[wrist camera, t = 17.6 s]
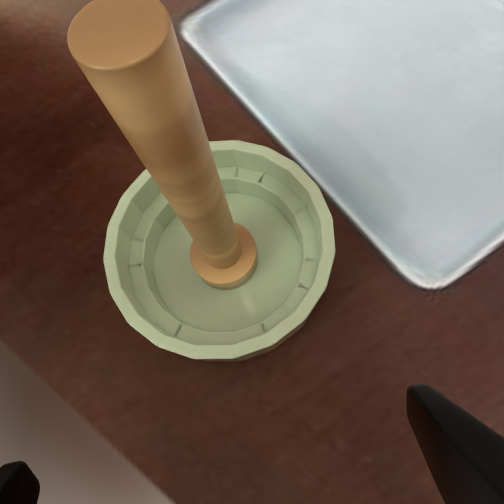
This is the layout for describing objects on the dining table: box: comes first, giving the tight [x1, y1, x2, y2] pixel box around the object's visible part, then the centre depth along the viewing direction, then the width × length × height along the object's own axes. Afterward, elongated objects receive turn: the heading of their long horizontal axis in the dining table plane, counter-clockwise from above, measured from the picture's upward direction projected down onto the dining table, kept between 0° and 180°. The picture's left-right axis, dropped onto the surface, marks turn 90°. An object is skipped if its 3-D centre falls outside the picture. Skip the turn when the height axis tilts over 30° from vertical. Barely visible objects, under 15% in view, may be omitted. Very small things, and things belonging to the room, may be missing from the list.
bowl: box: [103, 140, 335, 361], centre depth 19 cm, size 11×11×4 cm
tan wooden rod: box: [67, 0, 258, 290], centre depth 13 cm, size 4×4×14 cm
